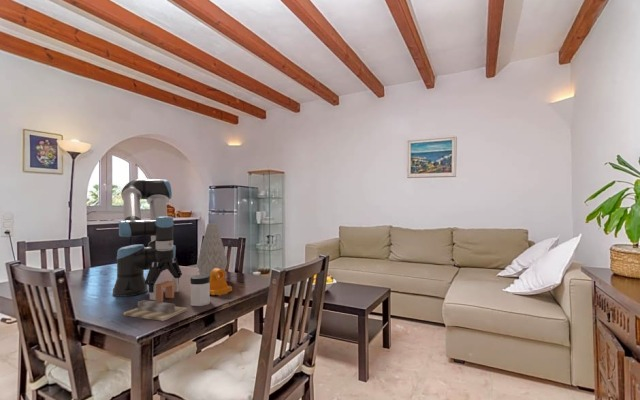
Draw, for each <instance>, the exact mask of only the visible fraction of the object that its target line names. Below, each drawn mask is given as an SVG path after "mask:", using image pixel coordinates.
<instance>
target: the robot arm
mask: <svg viewBox="0 0 640 400" xmlns="http://www.w3.org/2000/svg"><path fill="white" fill-rule="evenodd" d="M172 193H173V192H172V186H171V182H170V181H169V180H168V179H162V178H159V179H157V178H155V179H154V178H153V179H152V178H151V179H150V178H136V179H133V180H131V181H129V182H127V183H126V184H125V185H124V186H123V188H122V190H121V195H120V196H121V199H122V201H123V220H120V221H119V222H118V235H119V237H122V238H123V237H124V238H125V237H126V238H130V237H131V238H133V237H150V241H149V242H148V244H147V246H145V245H144V244H143V243H142V244H141V243H140V244H131V245H127V246H122V247H120V248H118V249H117V253H116V280H115V283H114V286H113V288H112V296H116V297H131V296H136V295H138V296H139V295H140V294H144V293H146V292H148V293H149V300H150V301H154V300H156V285H155V284H156V282H157V280H158V278H159V277H160V275H161V273H162V272H163V271H166V270H168V272H169V273H170V274H171V276H172V278H171V281H174V293H177V292H179V281H180V280H179V279H180V278H181V276H182V275H183V272H182V271H181V268H180V265H179V263H178V257H176V250H177V247H176V245H174V224H175V223H174V218H173V216H170V215H169V216H168V209H167V207H168V206H167V204H168V203H169V201H170V200H171V199H172V195H173V194H172ZM141 200H146V203H147V204H148V205H149V217H150V219H149V220H146V219H143V220H142V213H141ZM144 271H148V273H147V275H146V278H145V276H144V275H145V273H144Z"/></svg>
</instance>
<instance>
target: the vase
mask: <svg viewBox="0 0 640 400" xmlns="http://www.w3.org/2000/svg"><path fill="white" fill-rule="evenodd" d="M204 231H205V232H204V237H203V240H202V242H201V243H202V244H201V247H200V249H199V254H198V257H197V262H196V267H197V268H198V272H199V275H209V276H210V274H211V271H212V270H213V269H214V268H219V269H222V270H224V271H225V272H226V267H227V265H228V259H227V256H226V252H225V247H224V243H223V240H222V237H221V233H220V228H219V224H218V223H207V225H206V228H205V230H204ZM218 274H219V273H218Z"/></svg>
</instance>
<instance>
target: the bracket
mask: <svg viewBox="0 0 640 400" xmlns="http://www.w3.org/2000/svg"><path fill="white" fill-rule="evenodd" d="M218 273H219V274H218ZM229 292H233V287H232V286H231V285H228V283H227V280H226V270H225V271H224V270H222V269H219V268H214V269H213V270H212V271H211V274H210V295H211V296H215V295H216V296H217V295H219V296H223V295H226V294H227V293H228V294H229ZM222 294H223V295H222ZM228 294H227V295H228Z"/></svg>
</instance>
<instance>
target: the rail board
mask: <svg viewBox="0 0 640 400" xmlns="http://www.w3.org/2000/svg"><path fill="white" fill-rule="evenodd" d="M187 311H188V307H182V306H176V304H175V303H170V302H164V301H163V302H156V301H154V300H147V299H143V300H140V301H138V302H137V307H135V308H133V309H130V310H127V311H125V312H123V316H127V317H134V318H139V319H147V320H155V321H162V322H164V321H166V320H169V319H171V318H173V317H176V316H178V315H180V314H182V313H184V312H187Z"/></svg>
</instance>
